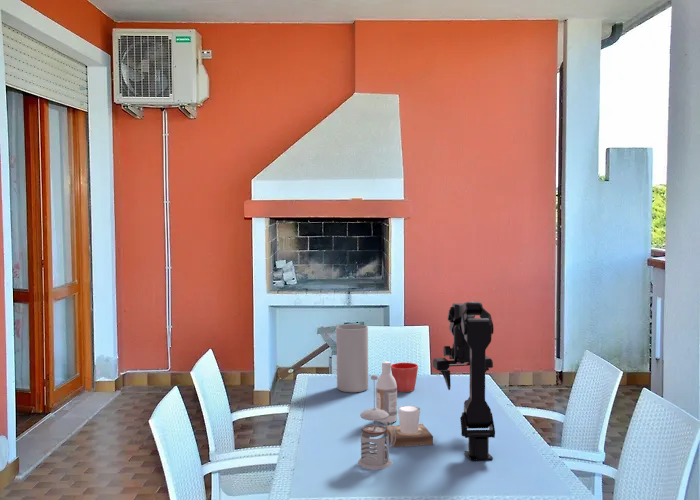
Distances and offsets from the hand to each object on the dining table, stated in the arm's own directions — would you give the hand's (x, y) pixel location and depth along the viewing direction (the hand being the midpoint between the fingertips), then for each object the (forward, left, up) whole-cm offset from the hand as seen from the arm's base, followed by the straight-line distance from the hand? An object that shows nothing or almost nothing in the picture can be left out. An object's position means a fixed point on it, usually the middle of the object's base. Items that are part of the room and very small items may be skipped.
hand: (462, 389), depth 215 cm
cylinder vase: (+53, +28, -13) cm, 61 cm away
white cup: (-8, +20, -10) cm, 24 cm away
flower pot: (+48, +8, -13) cm, 50 cm away
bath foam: (+11, +23, -13) cm, 28 cm away
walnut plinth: (-8, +20, -12) cm, 25 cm away
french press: (-26, +33, -13) cm, 44 cm away
